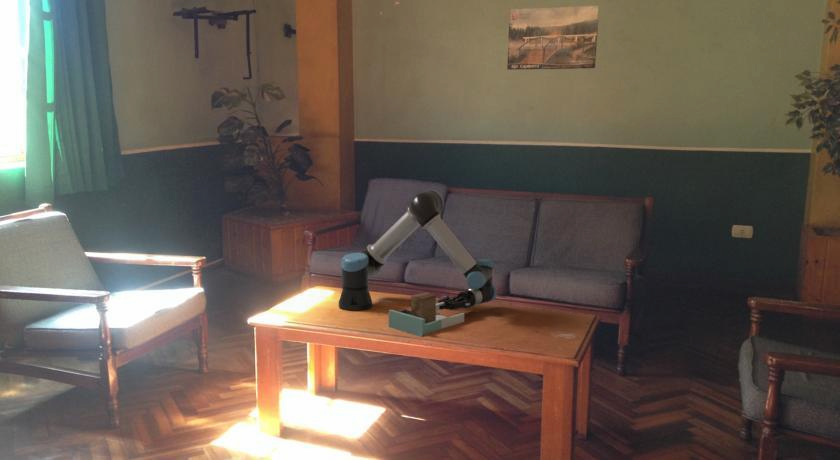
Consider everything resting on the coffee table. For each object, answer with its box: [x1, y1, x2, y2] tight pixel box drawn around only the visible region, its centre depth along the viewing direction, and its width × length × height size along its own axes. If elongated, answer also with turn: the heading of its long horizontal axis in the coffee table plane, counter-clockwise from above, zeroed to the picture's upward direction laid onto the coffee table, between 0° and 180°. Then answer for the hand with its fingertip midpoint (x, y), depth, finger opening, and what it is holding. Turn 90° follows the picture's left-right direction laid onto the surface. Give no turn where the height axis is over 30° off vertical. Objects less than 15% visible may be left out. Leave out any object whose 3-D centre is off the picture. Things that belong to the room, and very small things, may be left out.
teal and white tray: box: [388, 309, 465, 338], centre depth 294 cm, size 19×25×7 cm
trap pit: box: [398, 309, 411, 315], centre depth 302 cm, size 6×9×3 cm
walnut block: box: [410, 292, 437, 324], centre depth 292 cm, size 6×8×12 cm
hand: (432, 308), depth 295 cm, fingers closed
